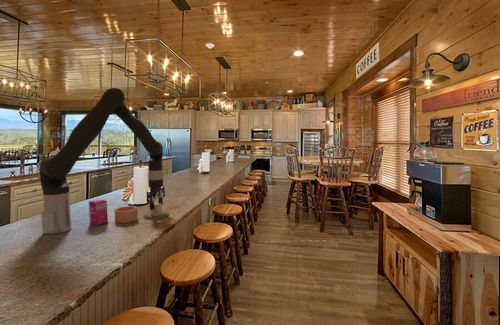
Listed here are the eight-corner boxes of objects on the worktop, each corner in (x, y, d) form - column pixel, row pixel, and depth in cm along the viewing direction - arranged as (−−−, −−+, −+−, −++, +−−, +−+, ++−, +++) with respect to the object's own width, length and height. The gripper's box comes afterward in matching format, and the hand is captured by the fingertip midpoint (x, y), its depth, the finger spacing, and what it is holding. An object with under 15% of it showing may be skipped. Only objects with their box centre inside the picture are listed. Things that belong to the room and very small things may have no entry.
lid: (160, 220, 126) (160, 207, 126) (138, 218, 129) (138, 206, 128) (173, 213, 139) (173, 201, 139) (152, 212, 142) (152, 200, 141)
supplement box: (89, 224, 119) (88, 201, 118) (101, 221, 124) (100, 198, 123) (96, 226, 116) (95, 202, 115) (108, 223, 121) (107, 200, 120)
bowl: (128, 224, 120) (128, 212, 120) (110, 222, 122) (110, 210, 122) (141, 217, 130) (140, 206, 130) (124, 216, 132) (123, 205, 131)
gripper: (156, 176, 140) (157, 203, 142) (141, 180, 126) (142, 210, 128) (168, 176, 139) (169, 204, 140) (154, 180, 125) (155, 211, 126)
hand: (156, 207), depth 134 cm, fingers open, 8 cm apart
